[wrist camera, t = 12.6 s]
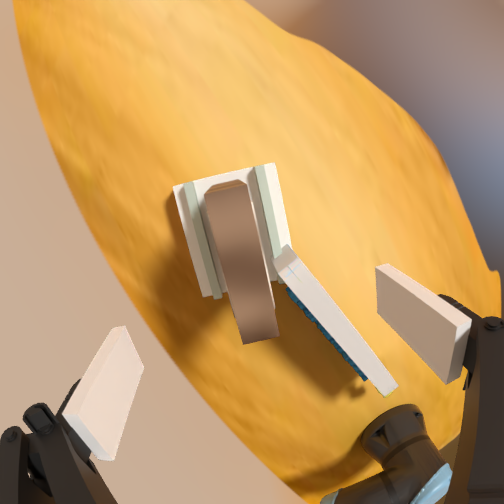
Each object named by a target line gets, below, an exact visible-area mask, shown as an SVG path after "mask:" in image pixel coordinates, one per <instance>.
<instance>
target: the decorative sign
mask: <svg viewBox="0 0 504 504" xmlns="http://www.w3.org/2000/svg"><path fill="white" fill-rule="evenodd" d="M281 250H282V253H281V254H280V255H279V256H278V257H277V258H275V259H274V257H273V256H271V257H270V258H271V260H272V262H273V264H274V266H275V268H276V270H277V272H278V274H279V276H280V277H281V278H282V279H283V281H284V282H285V283H286V284H287V285H288V287H287V288H286V291H287V292H288V295H289V297H290V298H291V299H292V300H293V301H294V302H295V303H296V304H297V305H298V306H299V307H300V308H301V310H303V311H304V313H305V314H306V316H307V317H309V318H310V320H311V321H312V322H314V321H315V323H316V324H317V328H318V329H320V330H321V332H322V333H323V335H325V337H326V338H327V339H328V340H329V341H330V342H331V344H333V345H334V347H335V348H336V349H337V350H338V352H339V353H341V354H342V356H343V357H344V359H345V361H348V363H349V364H350V365H351V366H352V367H353V368H354V370H355V371H356V372H357V373H358V374H359V376H360V377H361V378H362V379H363V381H366V380H367V379H369V380H370V381H371V382H372V383H373V384H374V386H375V387H376V389H377V391H378V392H379V393H380V394H382V395H383V397H384V398H386V397H388V396H389V395H390V394H391V393H392V392H393V390H394V389H395V388H397V387H398V386H399V385H398V384H397V383H396V381H395V380H394V379H393V377H392V376H391V375H390V373H389V372H388V371H387V369H386V368H385V366H384V365H383V364H382V362H381V361H380V360H379V358H378V357H377V356H376V354H375V353H374V352H373V351H372V349H371V348H370V347H369V345H368V344H367V343H366V341H365V340H364V339H363V337H362V336H361V335H360V334H359V332H358V331H357V330H356V328H355V327H354V326H353V325H352V323H351V322H350V321H349V319H348V318H347V317H346V316H345V314H344V313H343V312H342V311H341V309H340V308H339V307H338V306H337V304H336V303H335V302H334V300H333V299H332V298H331V297H330V295H329V294H328V293H327V292H326V290H325V289H324V288H323V287H322V285H321V284H320V283H319V282H318V280H317V279H316V278H315V277H314V276H313V274H312V273H311V272H310V271H309V269H308V268H307V267H306V266H305V264H304V263H303V262H302V261H301V260H300V258H299V257H298V256H297V255H296V253H295V252H294V251H293V250H292V249H291V248H290V246H289V245H288V244H286V245H285V246H283V247H282V248H281Z"/></svg>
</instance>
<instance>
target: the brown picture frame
mask: <svg viewBox="0 0 504 504" xmlns="http://www.w3.org/2000/svg"><path fill="white" fill-rule="evenodd" d="M204 198H205V202H206V206H207V211H208V212H207V215H208V219H209V223H210V227H211V231H212V235H213V239H214V242H215V246H216V250H217V254H218V258H219V262H220V266H221V269H222V273H223V277H224V281H225V284H226V288H227V292H228V295H229V299H230V303H231V306H232V310H233V314H234V317H235V318H236V321H237V325H238V328H239V332H240V335H241V339H242V342H243V345H244V344H249V343H253V342H257V341H262V340H266V339H270V338H274V337H278V336H280V334H279V329H278V325H277V320H276V315H275V310H274V309H275V303H274V298H273V294H272V289H271V284H270V279H269V275H268V270H267V265H266V261H265V256H264V251H263V247H262V242H261V237H260V233H259V228H258V224H257V219H256V215H255V210H254V205H253V202H252V201H251V199H250V195H249V191H248V186H247V184H246V183H244V182H242V181H241V180H239V179H236V180H232V181H228V182H223V183H219V184H215V185H212V186H211V187H210V188H209V189H208V190H207V191H206V193H205V194H204Z"/></svg>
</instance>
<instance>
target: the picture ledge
mask: <svg viewBox="0 0 504 504" xmlns="http://www.w3.org/2000/svg"><path fill="white" fill-rule="evenodd" d="M236 179H239V180H241V181H242V182H244V183H246V184H247V186H248V191H249V195H250V199H251V201H252V202H253V205H254V210H255V215H256V219H257V224H258V228H259V233H260V237H261V242H262V247H263V251H264V256H265V261H266V265H267V270H268V275H269V279H270V282H271V281H276V280H278V282H279V284H284V283H285V282H284V281H283V279H282V278H281V277H280V276H279V274H278V272H277V270H276V268H275V266H274V264H273V262H272V260H271V258H270V257H271V256H273V257H274V259H275V258H277V257H278V256H279V255H280V254H281V253H282V250H281V248H282V247H283V246H285V245H286V244H288V245H289V246H290V248H291V249H292V246H291V240H290V235H289V230H288V225H287V219H286V214H285V209H284V204H283V199H282V194H281V189H280V185H279V180H278V175H277V170H276V166H275V163H269V164H264V165H259V166H255V167H250V168H245V169H241V170H236V171H232V172H228V173H223V174H219V175H215V176H211V177H207V178H203V179H199V180H195V181H191V182H187V183H183V184H179V185H176V186H173V191H174V195H175V199H176V203H177V206H178V210H179V214H180V218H181V222H182V226H183V229H184V233H185V237H186V240H187V244H188V248H189V251H190V255H191V258H192V262H193V265H194V269H195V272H196V276H197V279H198V282H199V286H200V289H201V292H202V296H203V297H207V296H211V295H213V297H214V300H215V299H220V298H222V293H225V292H227V288H226V284H225V281H224V277H223V273H222V269H221V266H220V262H219V258H218V254H217V250H216V246H215V242H214V239H213V235H212V231H211V227H210V223H209V219H208V215H207V212H208V211H207V206H206V202H205V198H204V194H205V193H206V191H207V190H208V189H209V188H210V187H211V186H212V185H215V184H219V183H223V182H228V181H232V180H236Z"/></svg>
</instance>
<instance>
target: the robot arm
mask: <svg viewBox="0 0 504 504" xmlns="http://www.w3.org/2000/svg"><path fill="white" fill-rule="evenodd" d="M375 272H376V289H377V313H378V314H379V315H380V316H381V317H382V318H383V319H384V320H385V321H386V322H387V323H388V324H389V325H390V326H391V327H392V328H393V329H394V330H395V331H396V332H397V333H398V335H399V336H400V337H401V338H402V339H403V340H404V341H405V342H406V343H407V344H408V345H409V346H410V347H411V348H412V349H413V350H414V351H415V352H416V353H417V354H418V355H419V356H420V357H421V358H422V360H423V361H424V362H425V363H426V364H427V365H428V366H429V367H430V368H431V369H432V370H433V371H434V372H435V373H436V374H437V376H438V377H439V378H440V379H441V380H442V381H443V382H444V383H445V384H448V383H450V382H452V381H454V380H455V379H457V378H459V377H460V375H461V371H462V367H463V366H464V367H465V368H466V369H467V370H468V373H467V377H466V380H465V384H464V387H463V390H465V389H466V390H465V401H464V411H463V419H462V426H461V432H460V438H459V444H458V450H457V455H456V459H455V464H454V468H453V473H452V471H451V469H450V467H449V464H448V463H447V462H446V461H445V459H444V458H443V457H442V455H441V454H440V452H439V451H438V449H437V448H436V446H435V445H434V443H433V442H432V441H431V439H430V438H429V436H428V435H427V431H426V426H425V422H424V417H423V414H422V412H421V411H420V410H419V408H418V407H417V406H416V405H413V404H405V405H401V406H398V407H395V408H393V409H391V410H389V411H387V412H385V413H384V414H382V415H381V416H379V417H378V418H377V419H375V420H374V421H373V422H372V423H371V424H370V425H369V426H368V427H367V428H366V430H365V431H364V433H363V435H362V437H361V444H362V446H363V448H364V450H365V451H366V452H367V453H368V454H369V455H370V456H371V457H373V458H374V459H375V460H376V461H377V462H378V463H380V464H381V466H382V468H383V470H384V471H382V472H380V473H378V474H376V475H374V476H371V477H369V478H367V479H365V480H363V481H360V482H358V483H355V484H353V485H351V486H348V487H346V488H341V489H339V490H337V491H336V492H333V493H331V494H328V495H326V496H325V497H323V498H322V500H321V502H320V504H434V503H436V502H437V501H438V500H439V499H440V498H441V497H442V496H444V495H445V494H446V493H447V495H446V498H445V502H444V504H504V320H502V319H501V318H498V317H493V316H490V317H485V318H483V319H482V318H481V317H480V316H478V315H477V314H475V313H474V312H472V311H471V310H469V309H468V308H466V307H464V306H463V305H462V304H460V303H458V302H457V301H456V300H454V299H453V298H451V297H449V296H446V295H442V294H439V295H436V294H434V293H433V292H431V291H430V290H428V289H427V288H425V287H424V286H422V285H421V284H419V283H418V282H416V281H415V280H413V279H411V278H410V277H408V276H407V275H405V274H404V273H402V272H401V271H399V270H397V269H396V268H394V267H393V266H391V265H389V264H388V263H387V264H384V265H380V266H377V267H375ZM143 370H144V366H143V364H142V362H141V360H140V358H139V356H138V353H137V351H136V349H135V347H134V345H133V343H132V340H131V338H130V336H129V334H128V331H127V329H126V327H125V326H119V327H114V328H112V330H111V331H110V333H109V334H108V336H107V338H106V339H105V341H104V342H103V344H102V346H101V347H100V349H99V350H98V352H97V354H96V355H95V357H94V359H93V360H92V362H91V364H90V366H89V367H88V369H87V370H86V372H85V374H84V376H83V377H82V379H79V380H78V381H77V382H76V383H75V384H74V385H73V386H72V388H71V389H70V391H69V394H68V395H67V396H66V398H65V401H63V403H62V405H61V407H60V408H59V410H58V412H57V414H56V416H54V414H53V413H52V412H51V410H50V409H49V408H48V406H47V405H46V404H45V403H37V404H34V405H32V406H31V407H29V408H28V409H27V410H26V411H25V413H24V415H23V421H24V422H25V423H26V425H27V426H28V427H29V428H30V430H31V431H32V432H33V433H31V434H25V433H24V432H23V431H22V430H21V428H20V427H17V426H12V427H10V428H8V429H7V430H5V431H4V433H3V434H2V436H1V439H0V504H118V503H117V502H116V500H115V499H114V497H113V496H112V494H111V492H110V491H109V489H108V487H107V486H106V484H105V482H104V481H103V479H102V477H101V476H100V474H99V472H98V471H97V469H96V467H95V465H94V463H93V462H92V461H91V460H90V459H89V456H90V454H91V452H92V453H93V454H94V455H95V456H96V457H97V458H98V460H106V461H114V460H115V457H116V453H117V450H118V446H119V443H120V440H121V436H122V433H123V430H124V427H125V424H126V420H127V417H128V414H129V411H130V408H131V405H132V402H133V399H134V396H135V393H136V390H137V387H138V384H139V381H140V378H141V376H142V373H143ZM28 473H29V474H30V477H29V475H28Z"/></svg>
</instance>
